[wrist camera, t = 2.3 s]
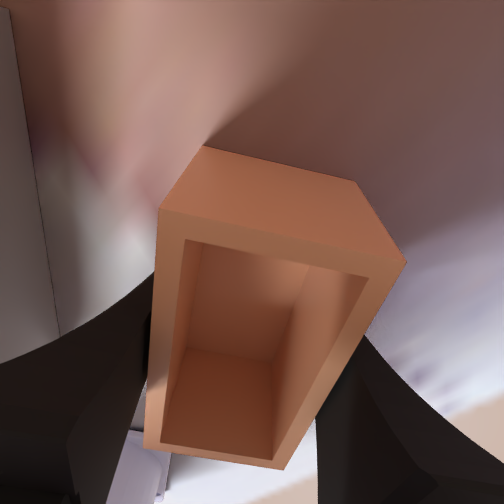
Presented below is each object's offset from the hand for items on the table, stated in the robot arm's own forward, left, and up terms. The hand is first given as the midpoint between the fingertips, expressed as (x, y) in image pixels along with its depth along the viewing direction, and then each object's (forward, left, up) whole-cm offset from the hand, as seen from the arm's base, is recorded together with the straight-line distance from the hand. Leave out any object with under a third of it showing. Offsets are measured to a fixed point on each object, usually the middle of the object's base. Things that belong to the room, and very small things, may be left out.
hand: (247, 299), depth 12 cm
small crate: (0, 0, -1) cm, 1 cm away
